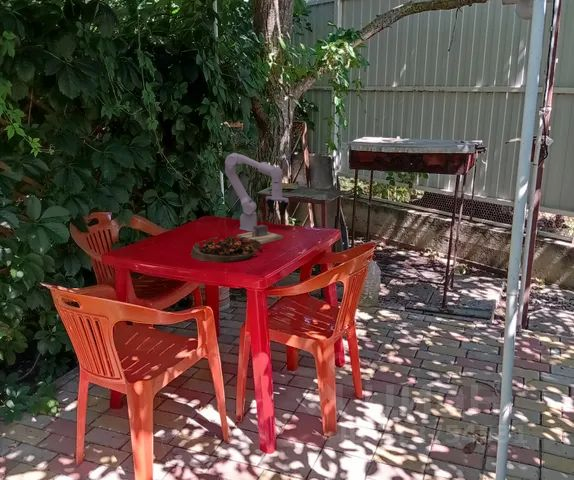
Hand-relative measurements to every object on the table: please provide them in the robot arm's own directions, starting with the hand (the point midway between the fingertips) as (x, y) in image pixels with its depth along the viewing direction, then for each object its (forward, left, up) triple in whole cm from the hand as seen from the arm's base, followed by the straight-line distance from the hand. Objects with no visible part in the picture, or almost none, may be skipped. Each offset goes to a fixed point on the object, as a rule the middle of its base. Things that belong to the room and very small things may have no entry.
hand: (277, 213), depth 328 cm
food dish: (+17, -49, -10) cm, 53 cm away
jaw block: (+7, -19, -8) cm, 21 cm away
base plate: (+7, -19, -9) cm, 22 cm away
